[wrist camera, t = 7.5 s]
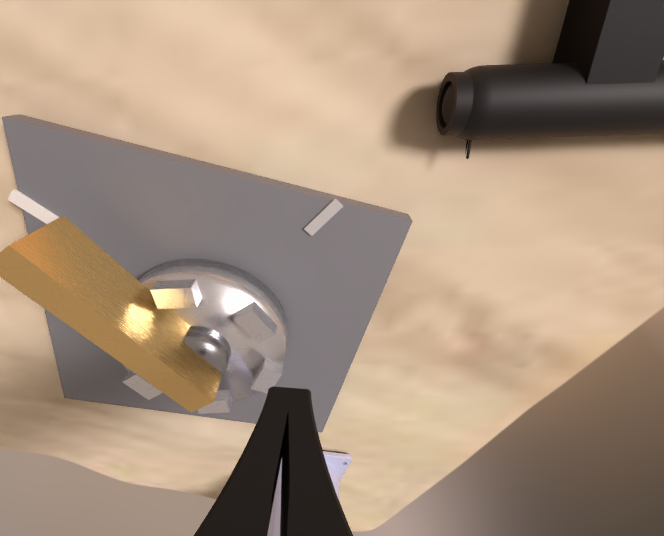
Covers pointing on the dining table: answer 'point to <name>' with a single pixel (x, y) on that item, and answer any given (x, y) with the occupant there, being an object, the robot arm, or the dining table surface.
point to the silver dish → (158, 317)
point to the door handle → (569, 81)
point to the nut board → (209, 250)
